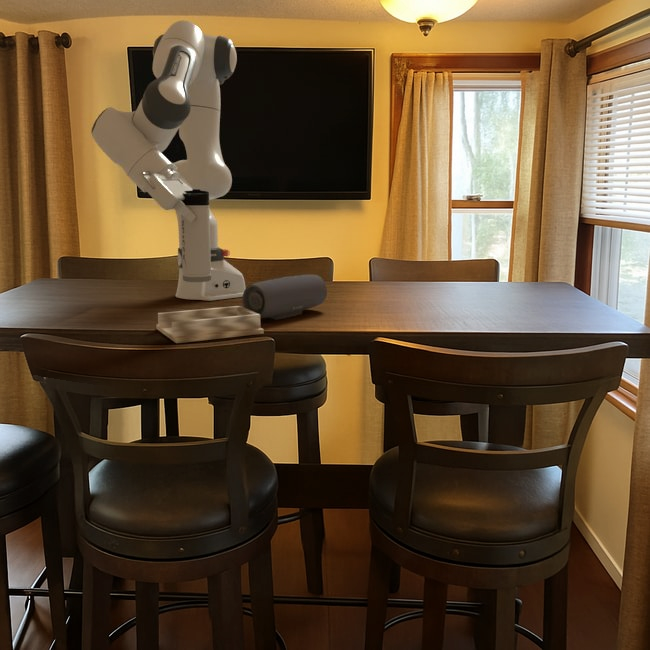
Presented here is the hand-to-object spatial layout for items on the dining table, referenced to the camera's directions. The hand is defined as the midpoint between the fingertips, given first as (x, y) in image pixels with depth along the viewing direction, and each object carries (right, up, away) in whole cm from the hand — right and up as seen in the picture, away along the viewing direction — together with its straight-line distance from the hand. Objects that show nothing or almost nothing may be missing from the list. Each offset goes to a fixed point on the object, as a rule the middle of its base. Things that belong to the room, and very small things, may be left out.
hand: (198, 218), depth 151 cm
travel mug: (-1, -14, +3) cm, 14 cm away
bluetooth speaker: (+18, -21, +23) cm, 36 cm away
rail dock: (+2, -25, +5) cm, 25 cm away
